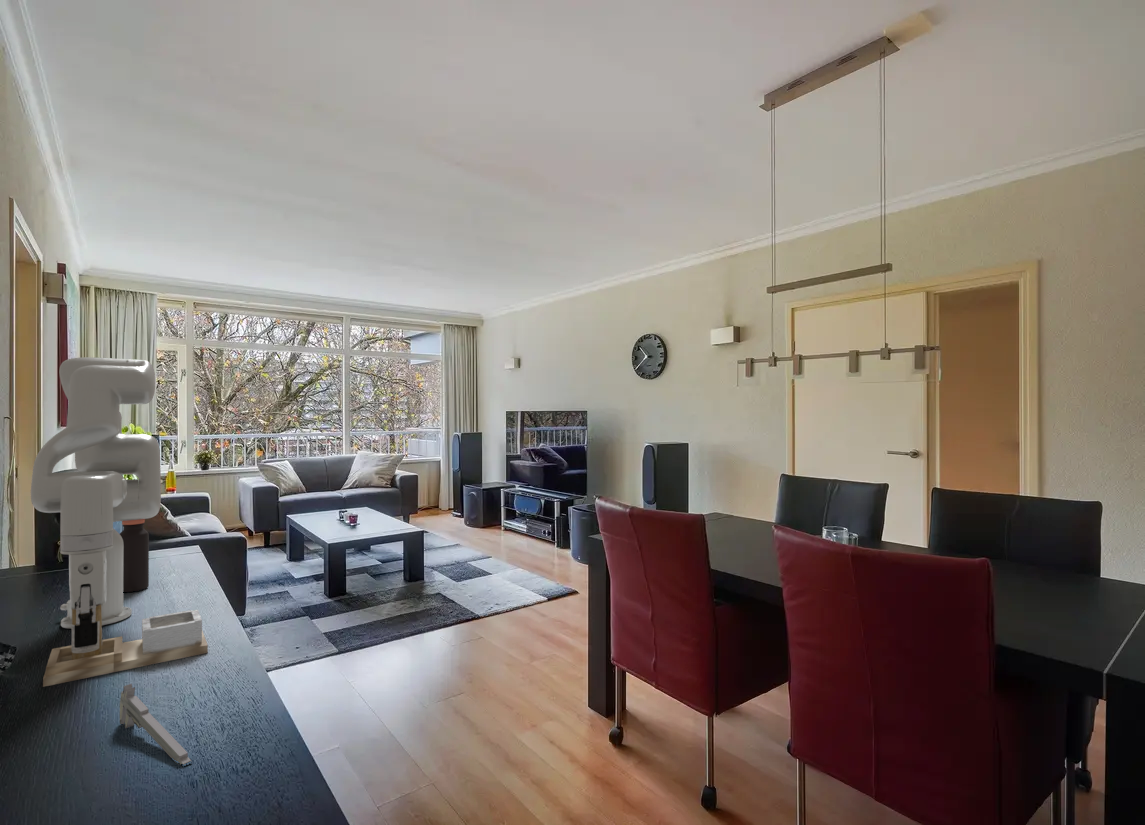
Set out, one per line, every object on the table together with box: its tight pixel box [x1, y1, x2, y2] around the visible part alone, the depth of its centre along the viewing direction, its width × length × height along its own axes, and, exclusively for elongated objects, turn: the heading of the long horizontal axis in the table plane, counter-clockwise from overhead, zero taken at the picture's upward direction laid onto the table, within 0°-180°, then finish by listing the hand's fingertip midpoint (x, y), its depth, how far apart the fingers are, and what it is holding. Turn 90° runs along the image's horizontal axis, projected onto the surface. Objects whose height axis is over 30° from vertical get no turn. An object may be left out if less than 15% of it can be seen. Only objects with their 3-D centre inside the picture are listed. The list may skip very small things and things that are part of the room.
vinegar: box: [119, 519, 150, 593], centre depth 160 cm, size 7×7×20 cm
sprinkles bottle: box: [71, 592, 103, 660], centre depth 109 cm, size 5×5×14 cm
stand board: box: [42, 630, 209, 688], centre depth 113 cm, size 24×12×3 cm, turn 127°
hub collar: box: [141, 609, 203, 655], centre depth 117 cm, size 9×9×4 cm
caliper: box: [119, 683, 192, 765], centre depth 83 cm, size 20×1×6 cm, turn 57°
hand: (86, 640), depth 109 cm, fingers closed on sprinkles bottle, 4 cm apart
